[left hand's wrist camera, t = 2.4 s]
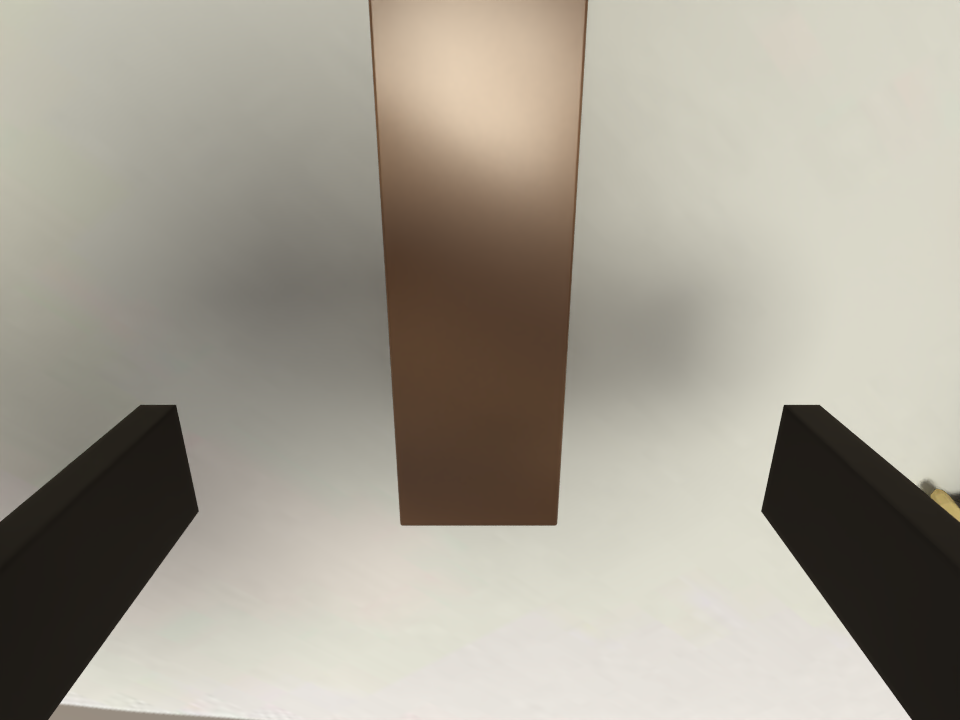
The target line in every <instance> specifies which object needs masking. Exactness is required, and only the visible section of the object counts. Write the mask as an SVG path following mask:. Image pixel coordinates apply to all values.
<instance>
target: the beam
mask: <svg viewBox="0 0 960 720" xmlns="http://www.w3.org/2000/svg"><path fill="white" fill-rule="evenodd" d="M587 10H588V0H369V16H370V32H371V49H372V65H373V82H374V98H375V114H376V131H377V147H378V164H379V180H380V197H381V213H382V229H383V246H384V262H385V279H386V295H387V312H388V328H389V344H390V361H391V377H392V394H393V410H394V426H395V443H396V459H397V476H398V492H399V509H400V523H401V525H557V518H558V501H559V484H560V468H561V451H562V434H563V417H564V400H565V383H566V366H567V349H568V332H569V315H570V298H571V281H572V264H573V247H574V231H575V214H576V197H577V180H578V163H579V146H580V129H581V112H582V95H583V78H584V61H585V44H586V27H587Z"/></svg>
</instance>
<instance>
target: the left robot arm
mask: <svg viewBox="0 0 960 720" xmlns="http://www.w3.org/2000/svg"><path fill="white" fill-rule="evenodd" d="M198 512H199V510H198V506H197V501H196V496H195V492H194V487H193V482H192V478H191V473H190V468H189V464H188V459H187V454H186V449H185V445H184V440H183V435H182V431H181V426H180V421H179V417H178V412H177V407H176V405H140V406H139V407H138V408H136V409H135V410H134V411H133V412H132V413H130V414H129V415H128V416H127V417H126V418H124V419H123V420H122V421H121V422H120V423H118V424H117V425H116V426H115V427H114V428H112V429H111V430H110V431H109V432H108V433H106V434H105V435H104V436H103V437H102V438H100V439H99V440H98V441H97V442H96V443H94V444H93V445H92V446H91V447H90V448H88V449H87V450H86V451H85V452H84V453H82V454H81V455H80V456H79V457H78V458H76V459H75V460H74V461H73V462H72V463H70V464H69V465H68V466H67V467H66V468H64V469H63V470H62V471H61V472H60V473H58V474H57V475H56V476H55V477H54V478H52V479H51V480H50V481H49V482H48V483H46V484H45V485H44V486H43V487H42V488H40V489H39V490H38V491H37V492H36V493H34V494H33V495H32V496H31V497H30V498H28V499H27V500H26V501H25V502H24V503H22V504H21V505H20V506H19V507H18V508H16V509H15V510H14V511H13V512H12V513H10V514H9V515H8V516H7V517H6V518H4V519H3V520H2V521H1V522H0V720H48V719H49V718H50V716H51V715H52V714H53V712H54V711H55V709H56V708H57V707H58V705H59V704H60V702H61V701H62V700H63V698H64V697H65V696H66V694H67V693H68V691H69V690H70V689H71V687H72V686H73V685H74V683H75V682H76V680H77V679H78V678H79V676H80V675H81V673H82V672H83V671H84V669H85V668H86V667H87V665H88V664H89V662H90V661H91V660H92V658H93V657H94V655H95V654H96V653H97V651H98V650H99V649H100V647H101V646H102V644H103V643H104V642H105V640H106V639H107V637H108V636H109V635H110V633H111V632H112V631H113V629H114V628H115V626H116V625H117V624H118V622H119V621H120V619H121V618H122V617H123V615H124V614H125V613H126V611H127V610H128V608H129V607H130V606H131V604H132V603H133V601H134V600H135V599H136V597H137V596H138V595H139V593H140V592H141V590H142V589H143V588H144V586H145V585H146V583H147V582H148V581H149V579H150V578H151V577H152V575H153V574H154V572H155V571H156V570H157V568H158V567H159V566H160V564H161V563H162V561H163V560H164V559H165V557H166V556H167V554H168V553H169V552H170V550H171V549H172V548H173V546H174V545H175V543H176V542H177V541H178V539H179V538H180V536H181V535H182V534H183V532H184V531H185V530H186V528H187V527H188V525H189V524H190V523H191V521H192V520H193V518H194V517H195V516H196V514H197V513H198ZM761 512H762V513H763V514H764V516H765V517H766V518H767V520H768V521H769V523H770V524H771V525H772V527H773V528H774V530H775V531H776V532H777V534H778V535H779V536H780V538H781V539H782V541H783V542H784V543H785V545H786V546H787V548H788V549H789V550H790V552H791V553H792V554H793V556H794V557H795V559H796V560H797V561H798V563H799V564H800V566H801V567H802V568H803V570H804V571H805V572H806V574H807V575H808V577H809V578H810V579H811V581H812V582H813V583H814V585H815V586H816V588H817V589H818V590H819V592H820V593H821V595H822V596H823V597H824V599H825V600H826V601H827V603H828V604H829V606H830V607H831V608H832V610H833V611H834V613H835V614H836V615H837V617H838V618H839V619H840V621H841V622H842V624H843V625H844V626H845V628H846V629H847V631H848V632H849V633H850V635H851V636H852V637H853V639H854V640H855V642H856V643H857V644H858V646H859V647H860V649H861V650H862V651H863V653H864V654H865V655H866V657H867V658H868V660H869V661H870V662H871V664H872V665H873V667H874V668H875V669H876V671H877V672H878V673H879V675H880V676H881V678H882V679H883V680H884V682H885V683H886V685H887V686H888V687H889V689H890V690H891V691H892V693H893V694H894V696H895V697H896V698H897V700H898V701H899V702H900V704H901V705H902V707H903V708H904V709H905V711H906V712H907V714H908V715H909V716H910V718H911V719H912V720H960V522H959V521H958V520H957V519H956V518H954V517H953V516H952V515H951V514H950V513H948V512H947V511H946V510H945V509H944V508H942V507H941V506H940V505H939V504H938V503H936V502H935V501H934V500H933V499H932V498H930V497H929V496H928V495H927V494H926V493H924V492H923V491H922V490H921V489H920V488H918V487H917V486H916V485H915V484H914V483H912V482H911V481H910V480H909V479H908V478H906V477H905V476H904V475H903V474H902V473H900V472H899V471H898V470H897V469H896V468H894V467H893V466H892V465H891V464H890V463H888V462H887V461H886V460H885V459H884V458H882V457H881V456H880V455H879V454H878V453H876V452H875V451H874V450H873V449H872V448H870V447H869V446H868V445H867V444H866V443H864V442H863V441H862V440H861V439H860V438H858V437H857V436H856V435H855V434H854V433H852V432H851V431H850V430H849V429H848V428H846V427H845V426H844V425H843V424H842V423H840V422H839V421H838V420H837V419H836V418H834V417H833V416H832V415H831V414H830V413H828V412H827V411H826V410H825V409H824V408H822V407H821V406H820V405H784V407H783V412H782V417H781V421H780V426H779V431H778V435H777V440H776V445H775V449H774V454H773V459H772V463H771V468H770V473H769V478H768V482H767V487H766V492H765V496H764V501H763V506H762V510H761Z"/></svg>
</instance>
